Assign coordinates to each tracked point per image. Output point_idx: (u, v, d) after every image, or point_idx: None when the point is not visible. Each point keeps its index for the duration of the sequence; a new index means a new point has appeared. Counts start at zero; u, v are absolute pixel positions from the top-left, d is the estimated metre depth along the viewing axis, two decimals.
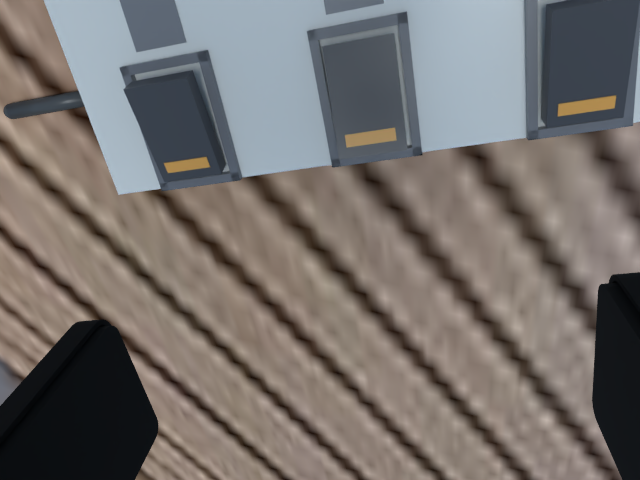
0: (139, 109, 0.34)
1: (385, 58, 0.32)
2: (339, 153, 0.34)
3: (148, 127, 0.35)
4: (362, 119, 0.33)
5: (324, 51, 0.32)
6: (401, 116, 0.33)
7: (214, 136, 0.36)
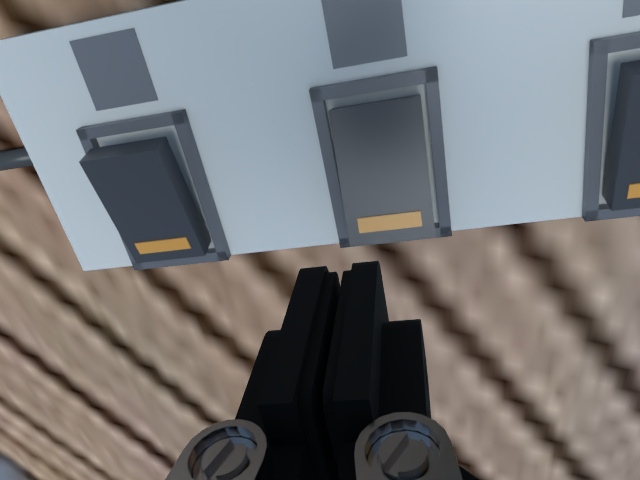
0: (100, 184, 0.28)
1: (409, 127, 0.25)
2: (350, 239, 0.27)
3: (113, 204, 0.28)
4: (379, 200, 0.26)
5: (331, 117, 0.25)
6: (428, 197, 0.26)
7: (195, 211, 0.30)
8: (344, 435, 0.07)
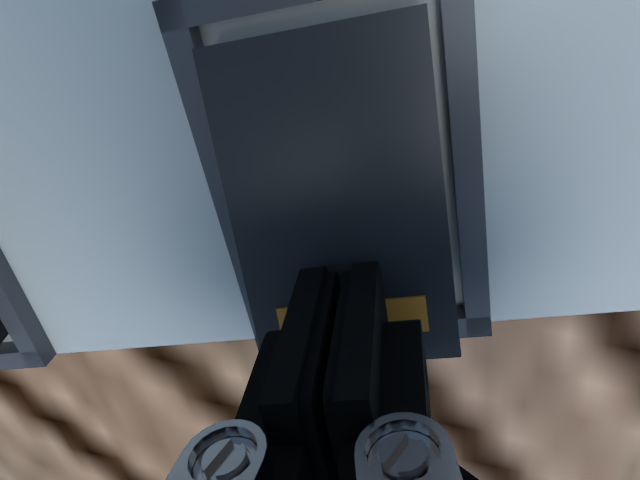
0: None
1: (396, 89, 0.10)
2: None
3: None
4: None
5: (201, 65, 0.10)
6: (445, 265, 0.11)
7: None
8: (344, 435, 0.07)
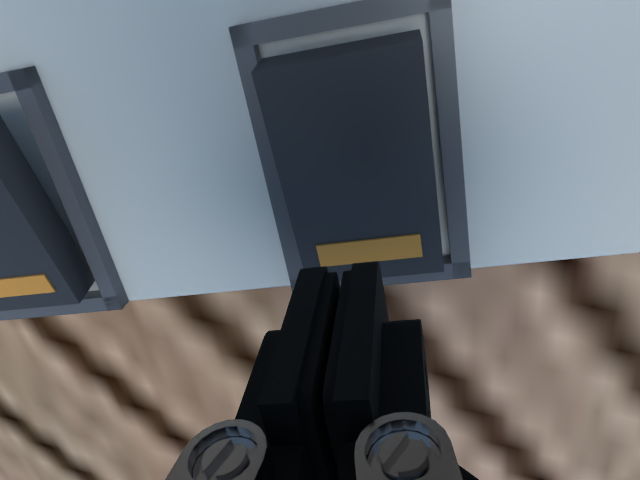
0: None
1: (401, 99, 0.14)
2: None
3: None
4: (351, 218, 0.16)
5: (258, 83, 0.14)
6: (434, 214, 0.15)
7: (62, 233, 0.19)
8: (344, 435, 0.07)
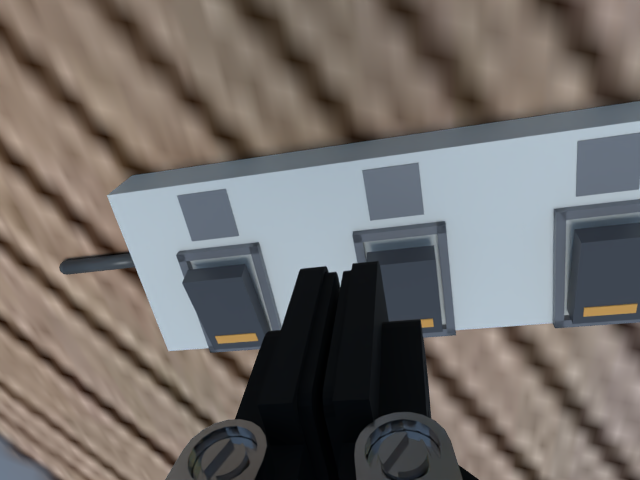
0: (195, 297, 0.37)
1: (426, 276, 0.34)
2: None
3: (202, 310, 0.38)
4: (403, 313, 0.36)
5: None
6: (439, 312, 0.36)
7: (262, 313, 0.39)
8: (344, 435, 0.07)
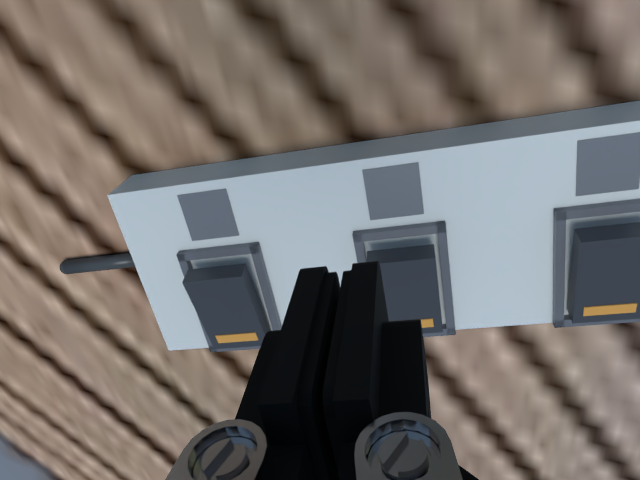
0: (195, 297, 0.37)
1: (426, 274, 0.34)
2: None
3: (203, 309, 0.38)
4: (403, 312, 0.36)
5: None
6: (439, 311, 0.36)
7: (262, 312, 0.39)
8: (344, 435, 0.07)
